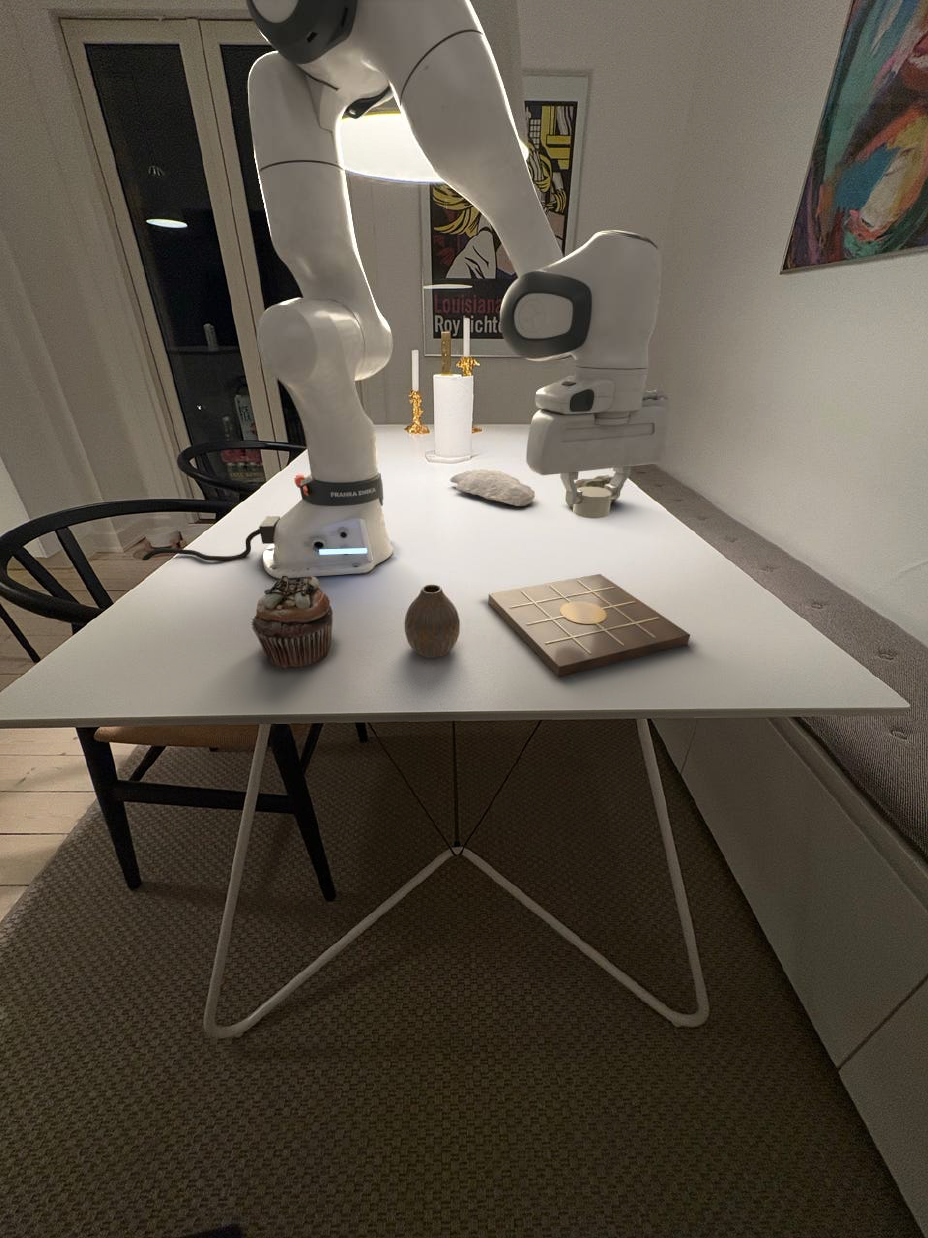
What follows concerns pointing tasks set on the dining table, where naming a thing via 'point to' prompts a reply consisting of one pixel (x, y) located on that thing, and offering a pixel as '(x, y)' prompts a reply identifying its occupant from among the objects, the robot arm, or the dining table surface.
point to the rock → (594, 483)
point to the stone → (494, 486)
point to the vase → (432, 623)
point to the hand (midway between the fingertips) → (592, 500)
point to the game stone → (593, 502)
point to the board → (585, 623)
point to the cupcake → (294, 622)
